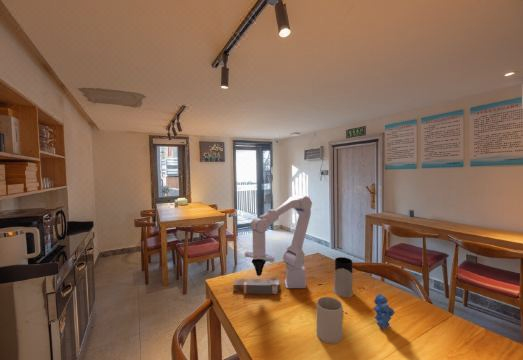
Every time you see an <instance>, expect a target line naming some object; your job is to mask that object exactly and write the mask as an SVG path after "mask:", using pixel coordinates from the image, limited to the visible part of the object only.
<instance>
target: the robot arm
mask: <svg viewBox="0 0 523 360" xmlns="http://www.w3.org/2000/svg"><path fill="white" fill-rule="evenodd" d="M312 206H313V202H312V200H311V198H310V197H309V196H306V195H305V196H303V195H298V194H293V195H291V196H290V197H288V199H287V200H285V201H284V202H283V203H281V204H280V205H279V206H278V207H277V208H274V209H273V208H270V209H267V211H266V212H265V213H264V214H261V215H259V217H255V218H253V219H252V220H251V222H250V224H249V227H250V229H251V232H252V251H245V252H244V257H245V258H252V260H251V263H252V265H253V267H254V269H255V273H256V276H257V277H260V276H261V275H262V274H263V270H264V266H265V264H266V262H270V263H272V264H273V263H274V262H275V256H272V255H269V254H267V253H266V232H267V231H268V228H269V227H270V226H271V225H272V224H274V223H275V222H276V221H278V220H279V218H280V216H281V215H282V214H283V215H284V213H286V212H288V211H289V210H291V209H294V210H295V211H296V212H297V214H298V217H297V221H296V225H295V229H294V233H293V236H292V237H293V238H292V241H291V244H290V246H288V247H287V248H286V251H285V252H284V254H283V256H282V260H283V262H284V263H285V266H286V267H285V272H286V274H285V279H284V283H285V288H286V289H306V288H307V286H306V285H307V284H306V280H307V278H306V277H307V272H306V267H305V266H304V265H305V252H304V250H303V245H304V242H305V237H306V234H307V230H308V227H309V223H310V219H311V216H312V215H311V213H312V210H311V209H312Z"/></svg>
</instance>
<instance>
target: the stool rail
mask: <svg viewBox="0 0 523 360" xmlns="http://www.w3.org/2000/svg"><path fill="white" fill-rule="evenodd" d="M244 282H250V283H270V285H278V292H280V291H281V280H280V278H278V277H277V278H276V277H275V278H272V277H271V278H254V279H253V278H244V279H243V278H239V279H238V278H237V279H236V278H235V279H233V285H232V286H233V287H232V288H233V289H232V290H233V292H244Z"/></svg>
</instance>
